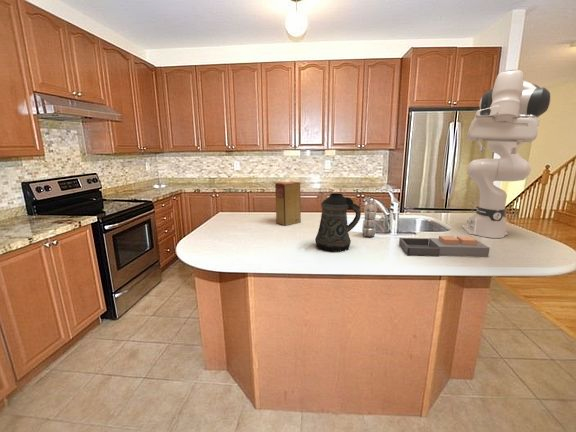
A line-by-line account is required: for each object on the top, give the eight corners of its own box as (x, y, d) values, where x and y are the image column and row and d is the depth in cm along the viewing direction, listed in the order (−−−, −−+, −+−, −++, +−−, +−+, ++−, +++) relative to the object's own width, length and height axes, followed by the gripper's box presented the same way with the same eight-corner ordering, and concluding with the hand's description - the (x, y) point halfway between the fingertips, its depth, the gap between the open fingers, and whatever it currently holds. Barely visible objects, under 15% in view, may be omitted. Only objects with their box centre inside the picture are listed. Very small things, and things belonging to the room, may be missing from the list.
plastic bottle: (360, 236, 154) (361, 198, 149) (366, 233, 159) (368, 196, 154) (371, 239, 149) (373, 200, 145) (377, 236, 154) (380, 198, 149)
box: (399, 244, 140) (399, 237, 139) (427, 245, 139) (428, 238, 138) (407, 255, 127) (407, 247, 126) (439, 256, 125) (439, 248, 124)
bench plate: (428, 246, 138) (429, 238, 137) (474, 247, 135) (475, 239, 134) (438, 255, 126) (439, 246, 125) (488, 256, 124) (489, 247, 123)
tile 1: (438, 240, 134) (439, 235, 133) (452, 240, 133) (453, 235, 132) (443, 244, 128) (444, 239, 127) (458, 244, 127) (459, 240, 127)
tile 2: (456, 240, 133) (456, 235, 132) (470, 240, 132) (470, 236, 131) (462, 244, 127) (462, 240, 126) (477, 245, 126) (477, 240, 126)
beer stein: (309, 243, 144) (309, 192, 138) (344, 238, 150) (345, 190, 145) (325, 254, 129) (326, 198, 123) (363, 248, 135) (365, 195, 130)
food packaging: (291, 219, 191) (291, 181, 185) (301, 222, 184) (301, 182, 178) (275, 223, 183) (274, 182, 177) (284, 226, 176) (284, 184, 170)
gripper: (537, 118, 103) (531, 157, 102) (469, 118, 112) (463, 153, 112) (543, 110, 98) (537, 151, 97) (471, 111, 107) (465, 148, 106)
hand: (497, 152), depth 104 cm, fingers open, 8 cm apart
